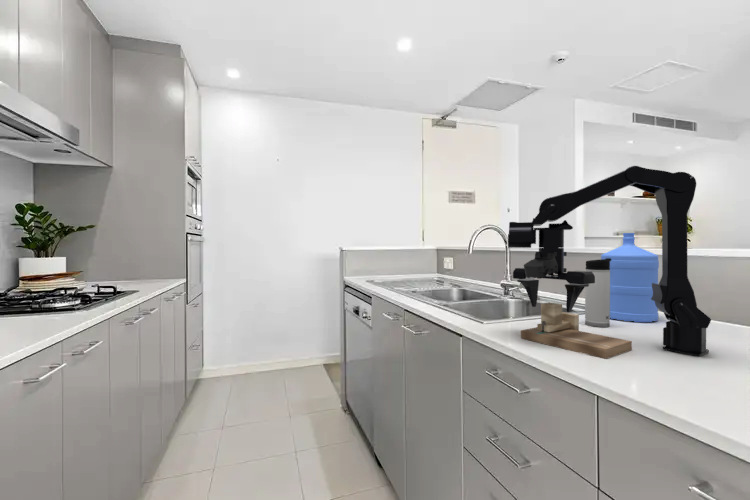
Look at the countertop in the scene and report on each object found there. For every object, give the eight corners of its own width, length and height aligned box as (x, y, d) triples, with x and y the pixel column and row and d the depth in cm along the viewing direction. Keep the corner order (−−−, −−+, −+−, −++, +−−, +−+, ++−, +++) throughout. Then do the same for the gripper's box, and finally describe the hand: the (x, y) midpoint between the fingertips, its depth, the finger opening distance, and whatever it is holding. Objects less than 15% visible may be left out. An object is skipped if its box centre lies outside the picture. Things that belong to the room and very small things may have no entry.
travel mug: (614, 328, 103) (615, 258, 103) (589, 327, 104) (590, 258, 104) (605, 323, 109) (605, 258, 109) (581, 322, 110) (582, 257, 110)
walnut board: (631, 349, 81) (631, 340, 81) (605, 358, 74) (606, 348, 74) (547, 332, 98) (547, 324, 98) (520, 338, 91) (520, 330, 91)
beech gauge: (578, 333, 93) (578, 302, 93) (552, 340, 86) (552, 306, 86) (559, 330, 97) (560, 300, 97) (533, 336, 91) (533, 303, 91)
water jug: (671, 323, 110) (672, 232, 109) (620, 323, 110) (620, 232, 109) (635, 313, 125) (635, 234, 125) (590, 313, 125) (590, 234, 125)
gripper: (499, 247, 94) (499, 306, 94) (570, 248, 78) (570, 319, 78) (525, 247, 100) (525, 303, 100) (596, 248, 84) (595, 314, 84)
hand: (550, 309), depth 91 cm, fingers open, 9 cm apart
